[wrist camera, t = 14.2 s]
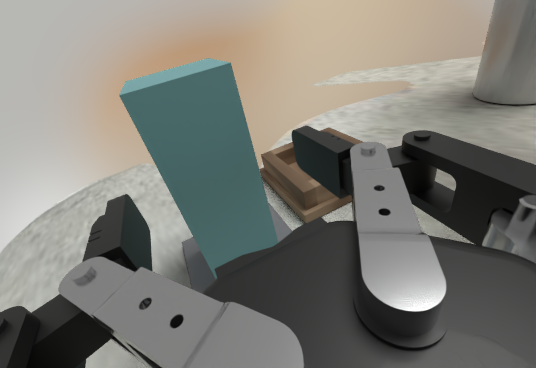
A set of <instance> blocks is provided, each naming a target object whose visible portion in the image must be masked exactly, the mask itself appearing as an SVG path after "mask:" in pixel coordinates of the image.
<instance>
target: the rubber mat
mask: <svg viewBox="0 0 536 368" xmlns="http://www.w3.org/2000/svg"><path fill="white" fill-rule="evenodd" d="M268 205H269V209H270V212H271V216H272V220H273V224H274V227H275V231H276V235H277V239H278V242H280V241H281V240H282V239H284V238H285V237H286V236H287V235H289V234H290V233H291V232H292V230H291V229H290V228H289V227H288V226H287V224H286V223H285V222H284V221H283V220H282V218H281V217H280V216H279V215H278V213H277V212H276V211H275V210H274V209H273V207H272V206H271V205H270V204H269V203H268ZM182 245H183V250H184V255H185V259H186V264H187V268H188V273H189V277H190V282H191V286H192V289H193V290H195V291H197V292H199V293H202V292H203V291H204V290H205V289H206V288H207V287H208V286H209V285H210V284H211V283H212V282H213V281H214V280H215V277H214V275H213V273H212V271H211V269H210V267H209V265H208V263H207V262H206V260H205V258H204V256H203V254H202V252H201V250H200V248H199V246H198V244H197V242H196V241H195V239H194V237H192V238H190V239H188V240H186V241H184V242H182Z"/></svg>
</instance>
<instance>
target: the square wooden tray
mask: <svg viewBox="0 0 536 368" xmlns="http://www.w3.org/2000/svg"><path fill="white" fill-rule="evenodd" d="M321 131H324V132H329V133H331V134H333V135H335V136H338V137H340V138H342V139H344V140H347V141H349V142H351V143H353V144H355V145H356V144H359V143H363V142H362V141H360V140H357V139H355V138H353V137H350V136H348V135H346V134H343V133H341V132H339V131H336V130H334V129H332V128H326V129H324V130H321ZM261 157H262V161H263V165H264V168H261V169H259V170H260V174H261V177H262V178H263V179H264V180H265V181H266V182H267V183H268V184H269V185H270V186H271V187H272V188H273V189H274V190H275V191H276V193H277V194H278V195H279V196H280V197H281V198H282V199H283V200H284V201H285V202H286V203H287V204H288V205H289V206H290V207H291V208H292V210H293V211H294V212H295V213H296V214H297V215H298V216H299V217H300V218H301V219H302V220H303V221H304V222H305V223H308V222H310V221H312V220H314V219H316V218H318V217H321V216H323V215H325V214H327V213H329V212H331V211H333V210H335V209H337V208H339V207H341V206H343V205H345V204H347V203H349V202H351V201H352V196H351V195H349V196H347V197H345V198H343V199H339V198H338V197H337V196H335V195H334V194H333V193H331V192H330V191H329V190H327V189H326V188H325V187H323V186H322V185H321V184H320V183H318V182H317V181H316V180H314V179H313V178H312V177H310V176H309V175H308V174H306V173H305V172H304V171H302V170H301V169H300V168H299V166H298V164H297V162H296V158H295V153H294V147H293V142H291V143H289V144H286V145H284V146H281V147H279V148H276V149H274V150H272V151H269V152H267V153H264V154H262V155H261Z"/></svg>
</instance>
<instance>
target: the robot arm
mask: <svg viewBox="0 0 536 368" xmlns="http://www.w3.org/2000/svg"><path fill="white" fill-rule="evenodd" d="M473 95H474V96H475V97H476V98H478V99H480V100H483V101H487V102H492V103H500V104H534V103H536V0H495V3H494V7H493V11H492V16H491V20H490V24H489V28H488V32H487V37H486V41H485V45H484V49H483V54H482V58H481V62H480V65H479V70H478V74H477V78H476V82H475V87H474V91H473ZM292 141H293V147H294V153H295V158H296V162H297V164H298V166H299V168H300V169H301V170H302V171H304V172H305V173H306V174H308V175H309V176H310V177H312V178H313V179H314V180H316V181H317V182H318V183H320V184H321V185H322V186H323V187H325V188H326V189H327V190H329V191H330V192H331V193H333V194H334V195H335V196H337V197H338V198H339V199H343V198H345V197H347V196H349V195H351V196H352V212H353V221H334V222H329V223H327V222H326V221H325V220H323V219H322V218H321V217H318V218H316V219H314V220H312V221H310V222H308V223H306V224H304V225H302V226H300V227H298V228H296V229H295V230H294V231H292V232H291V233H290V234H289V235H287V236H286V237H285V238H284V239H282V240H281V241H280V242H279V243H277V244H276V245H275V246H273V247H270V248H266V249H262V250H259V251H255V252H251V253H248V254H244V255H241V256H239V257H237V258H235V259H233V260H231V261H229V262H227V263H225V264H223V265H221V266H219V267H217V268H215V269H214V270H215V273H216V276H217V279H215V280H214V281H213V282H212V283H211V284H210V285H209V286H208V287H207V288H206V289H205V290H204V291H203V292H202V293H199V292H197V291H195V290H193V289H190V288H188V287H186V286H184V285H181V284H179V283H177V282H175V281H172V280H170V279H168V278H166V277H164V276H161V275H159V274H157V273H155V272H152V258H151V238H150V230H149V227H148V225H147V223H146V221H145V219H144V218H143V216H142V215H141V213H140V212H139V210H138V208H137V207H136V205H135V204H134V202H133V200H132V199H131V197H130V196H129V195H128V194H125V195H123V196H120V197H117V198H115V199H112V200H109V201H108V202H107V207H106V212H105V215H102V216H100V217H99V218H98V219H97V221H96V222H95V223H94V224H93V226H92V229H91V232H90V236H89V240H88V242H89V243H87V247H86V251H85V254H84V258H83V262H82V263H80V264H79V265H77V266H76V267H74V268H73V269H72V270H71V271H70V272H69V273H68V274H67V275H66V276H65V277H64V278H63V280H62V281H61V283H60V285H59V290H58V291H59V293H60V294H59V295H58V296H56V297H55V298H53V299H52V300H50V301H49V302H47V303H46V304H44V305H43V306H41V307H40V308H38V309H37V310H35V311H33V312H32V313H31V312H29V311H28V310H27V309H25V308H24V307H22V306H16V307H12V308H9V309H7V310H4V311H2V312H0V368H85V364H86V359H87V358H88V357H89V356H90V355H92V354H93V353H94V352H95V351H97V350H98V349H99V348H100V347H101V346H103V345H104V344H105V343H106V342H108V341H109V340H110V339H111V340H112V341H114V342H115V343H116V344H118V345H119V346H120V347H122V348H123V349H124V350H125V351H127V352H128V353H129V354H131V355H132V356H133V357H135V358H136V359H137V360H139V361H140V362H141V363H143V364H144V365H145V366H147V367H148V368H536V165H534V164H531V163H528V162H525V161H522V160H519V159H516V158H513V157H510V156H507V155H504V154H501V153H497V152H494V151H491V150H488V149H485V148H482V147H479V146H476V145H473V144H470V143H467V142H464V141H461V140H457V139H454V138H451V137H448V136H445V135H442V134H439V133H436V132H432V131H413V132H409V133H407V134H405V135H404V136H403V140H402V146H398V147H394V148H389V149H387V148H386V147H385V146H384V145H383V144H380V143H376V142H363V143H359V144H356V145H355V144H353V143H351V142H349V141H347V140H344V139H342V138H340V137H338V136H335V135H333V134H331V133H329V132H324V131H318V130H315V129H313V128H311V127H309V126H303V127H301V128H298V129H296V130H293V131H292ZM437 169H440V170H442V171H444V172H446V173H448V174H450V175H452V176H453V178H454V179H455V181H456V190H455V191H453V190H451V189H449V188H447V187H445V186H443V185H441V184H439V183H437V182H435V176H436V171H437ZM412 204H413V205H415V206H416V207H418V208H419V209H421V210H422V211H424V212H426V213H427V214H429V215H430V216H432V217H433V218H435V219H437V220H438V221H440V222H441V223H443V224H444V225H446V226H447V227H449V228H451V229H452V230H454V231H455V232H457V233H458V234H460V235H462V236H463V237H465V238H466V239H468V240H469V241H471V242H473V243H474V244H470V243H465V242H459V241H454V240H449V239H444V238H439V237H434V236H429V235H427V234H425V233H423V232H422V230H421V228H420V225H419V222H418V219H417V217H416V214H415V211H414V208H413V205H412ZM475 244H476V245H475Z"/></svg>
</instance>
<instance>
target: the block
mask: <svg viewBox="0 0 536 368" xmlns="http://www.w3.org/2000/svg"><path fill="white" fill-rule="evenodd" d="M120 97H121V100H122V102H123V103H124V105H125V107H126V109H127V111H128V113H129V115H130V117H131V118H132V120H133V122H134V124H135V126H136V128H137V130H138V132H139V134H140V136H141V138H142V140H143V142H144V143H145V145H146V147H147V149H148V151H149V153H150V155H151V157H152V159H153V160H154V162H155V164H156V166H157V168H158V170H159V172H160V174H161V176H162V178H163V180H164V182H165V183H166V185H167V187H168V189H169V191H170V193H171V195H172V197H173V199H174V201H175V202H176V204H177V206H178V208H179V210H180V212H181V214H182V216H183V218H184V220H185V222H186V223H187V225H188V227H189V229H190V231H191V233H192V235H193V237H194V239H195V241H196V242H197V244H198V246H199V248H200V250H201V252H202V254H203V256H204V258H205V260H206V262H207V263H208V265H209V267H210V269H211V271H212V273H213V275H214V277H215V279H217V276H216V273H215V270H214V269H215V268H217V267H219V266H221V265H223V264H225V263H227V262H229V261H231V260H233V259H235V258H237V257H239V256H241V255H244V254H248V253H251V252H255V251H259V250H262V249H266V248H270V247H273V246H275V245H276V244H277V243H279V242H278V239H277V235H276V231H275V227H274V224H273V220H272V216H271V212H270V209H269V205H268V201H267V197H266V194H265V190H264V186H263V182H262V179H261V175H260V171H259V167H258V164H257V160H256V157H255V152H254V149H253V145H252V141H251V138H250V134H249V130H248V126H247V122H246V119H245V115H244V111H243V107H242V104H241V100H240V96H239V92H238V88H237V85H236V81H235V77H234V74H233V70H232V66H231V63H229V62H224V61H219V60H214V59H209V58H208V59H204V60H201V61H197V62H193V63H190V64H186V65H183V66H179V67H175V68H172V69H168V70H165V71H162V72H158V73H154V74H151V75H147V76H143V77H140V78H136V79H133V80H130V81H126V82H125V84H124V86H123V88H122V91H121V93H120Z"/></svg>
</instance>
